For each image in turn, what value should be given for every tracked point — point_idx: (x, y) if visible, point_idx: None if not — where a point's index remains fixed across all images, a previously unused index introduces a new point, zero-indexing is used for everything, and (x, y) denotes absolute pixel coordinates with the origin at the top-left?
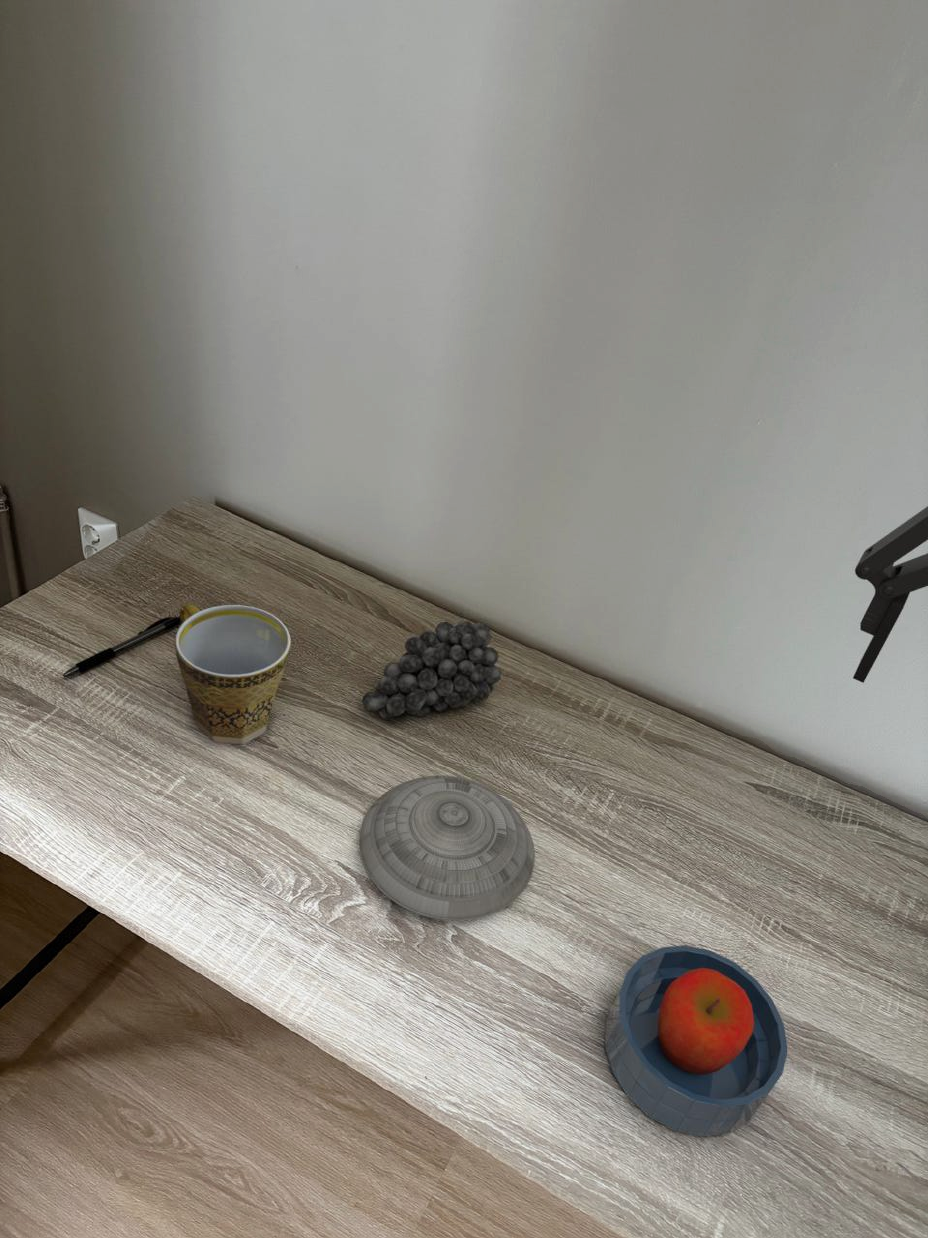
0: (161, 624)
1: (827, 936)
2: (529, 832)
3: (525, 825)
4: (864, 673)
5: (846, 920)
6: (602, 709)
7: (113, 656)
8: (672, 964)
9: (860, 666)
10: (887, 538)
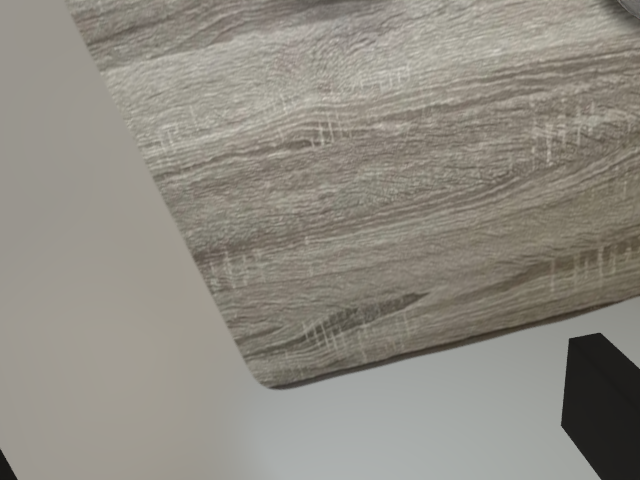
0: None
1: (264, 171)
2: (625, 1)
3: (638, 2)
4: (598, 356)
5: (258, 208)
6: (605, 261)
7: None
8: None
9: (629, 364)
10: None
